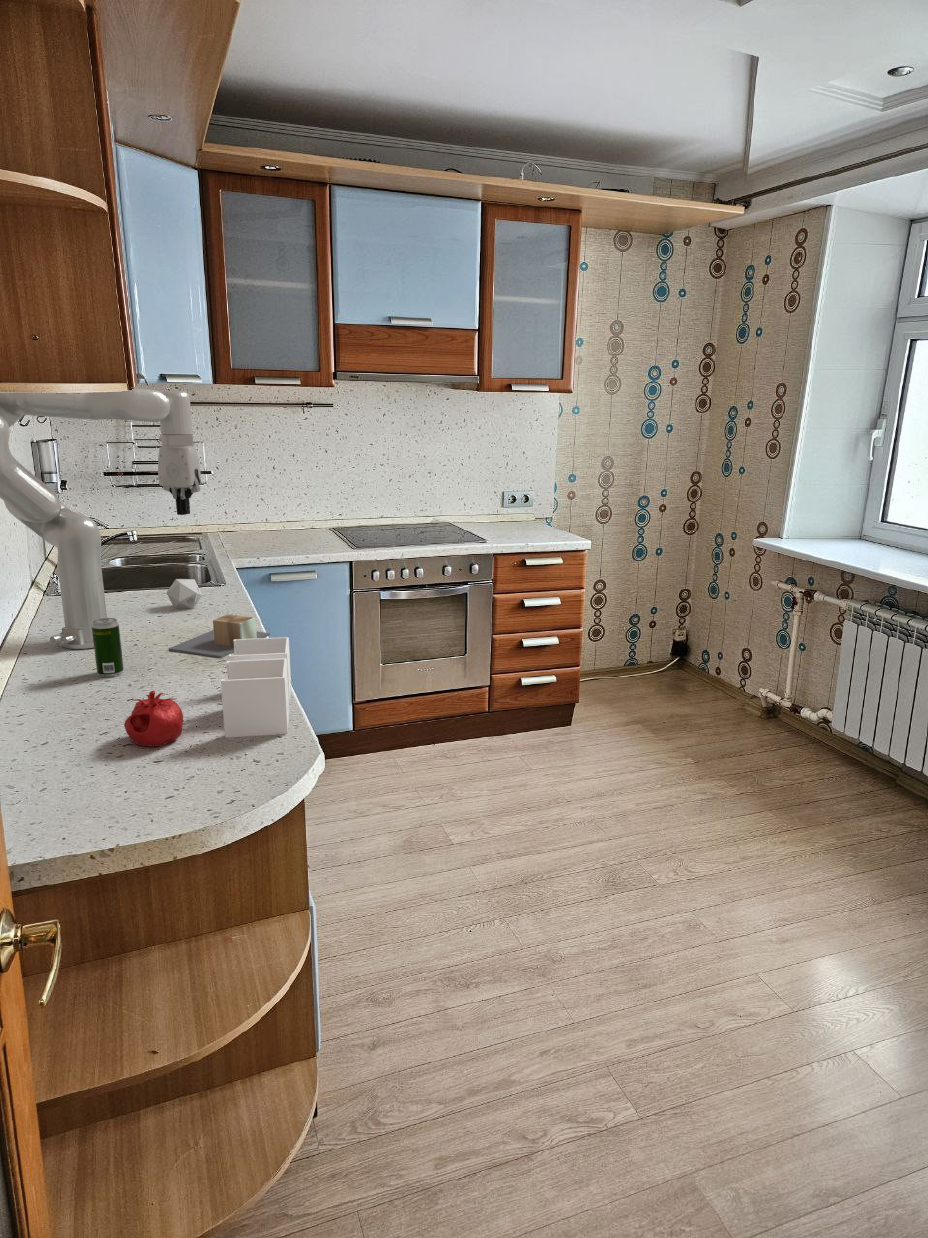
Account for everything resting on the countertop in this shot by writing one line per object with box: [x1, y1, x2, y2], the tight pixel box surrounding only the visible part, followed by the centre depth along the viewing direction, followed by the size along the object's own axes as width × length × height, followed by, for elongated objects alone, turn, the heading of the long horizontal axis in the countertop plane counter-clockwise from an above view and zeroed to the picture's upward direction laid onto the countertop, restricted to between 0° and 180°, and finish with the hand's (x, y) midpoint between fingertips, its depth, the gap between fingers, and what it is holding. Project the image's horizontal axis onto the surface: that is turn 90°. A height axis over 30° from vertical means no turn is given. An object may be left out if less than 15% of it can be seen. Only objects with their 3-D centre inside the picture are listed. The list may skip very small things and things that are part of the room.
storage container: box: [220, 636, 292, 739], centre depth 155 cm, size 25×11×11 cm, turn 10°
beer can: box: [92, 617, 124, 678], centre depth 174 cm, size 5×5×12 cm
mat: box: [168, 629, 271, 659], centre depth 198 cm, size 20×15×1 cm
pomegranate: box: [123, 690, 184, 747], centre depth 142 cm, size 10×10×9 cm
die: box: [165, 578, 203, 610], centre depth 229 cm, size 8×9×10 cm
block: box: [212, 613, 257, 647], centre depth 196 cm, size 6×6×8 cm
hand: (183, 514), depth 207 cm, fingers closed
